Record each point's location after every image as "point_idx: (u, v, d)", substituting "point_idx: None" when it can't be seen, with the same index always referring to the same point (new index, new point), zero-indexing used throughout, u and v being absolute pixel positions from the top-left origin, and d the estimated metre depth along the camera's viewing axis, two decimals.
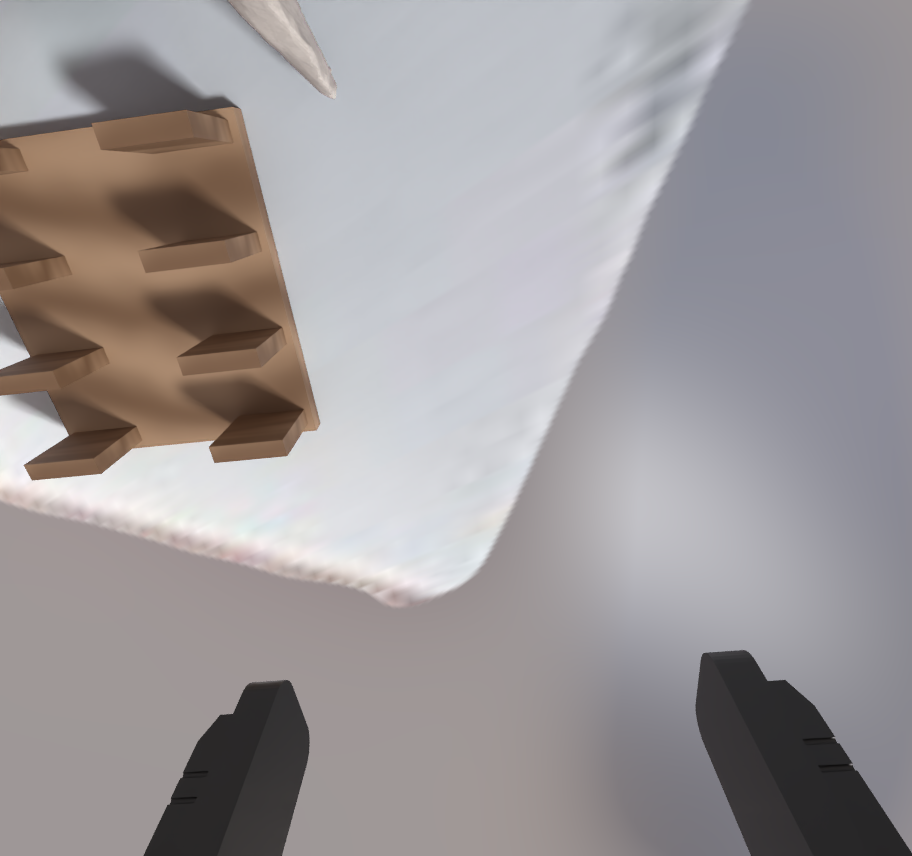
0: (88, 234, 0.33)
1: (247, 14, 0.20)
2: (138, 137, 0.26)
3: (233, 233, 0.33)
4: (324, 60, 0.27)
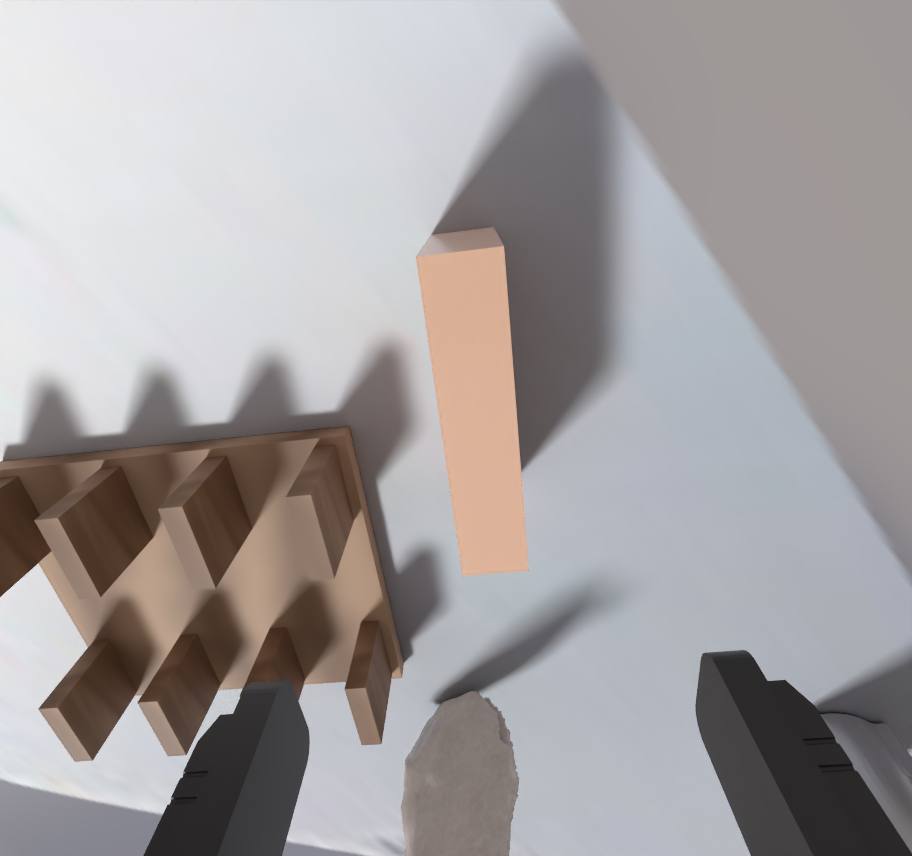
0: (279, 555, 0.32)
1: None
2: (357, 714, 0.30)
3: (300, 664, 0.36)
4: None
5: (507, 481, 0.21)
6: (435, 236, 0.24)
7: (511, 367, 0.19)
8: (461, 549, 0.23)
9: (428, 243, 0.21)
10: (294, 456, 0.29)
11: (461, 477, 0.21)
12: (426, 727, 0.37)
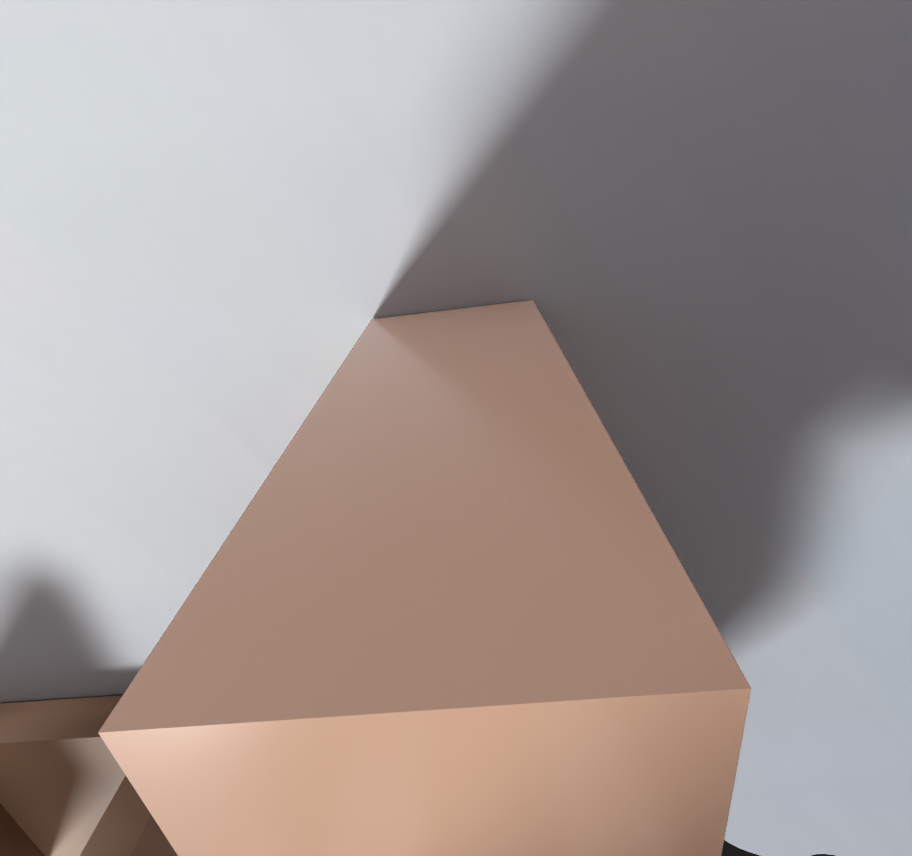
0: None
1: None
2: None
3: None
4: None
5: None
6: (375, 336, 0.08)
7: None
8: None
9: (327, 403, 0.06)
10: (103, 761, 0.14)
11: None
12: None
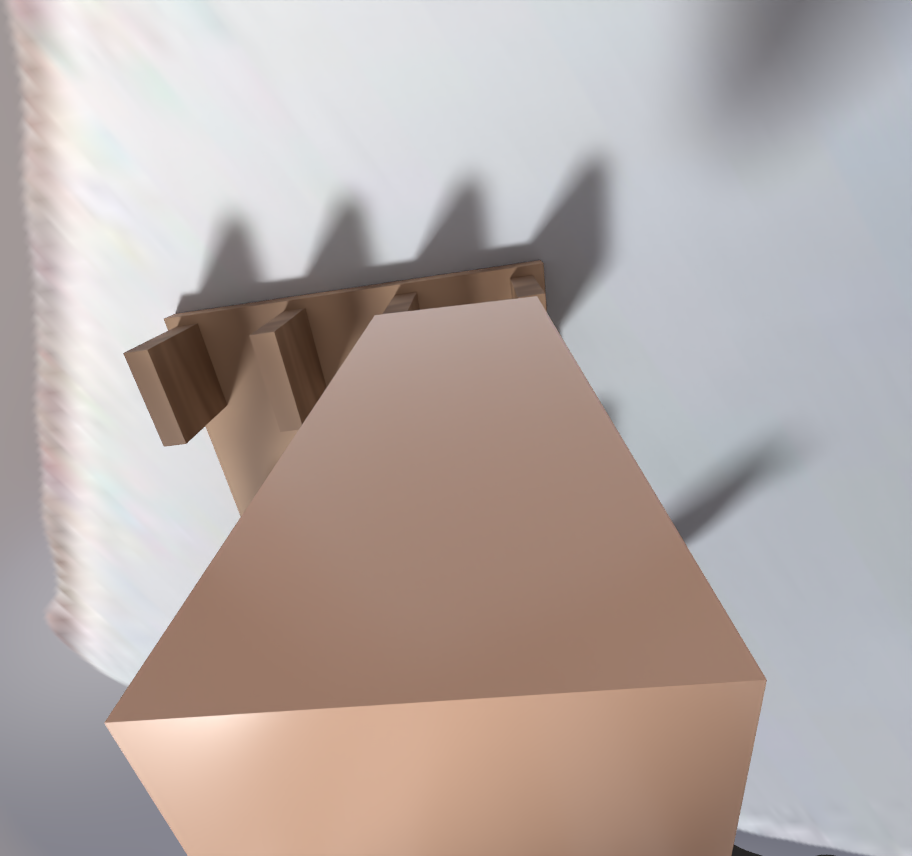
0: None
1: None
2: None
3: None
4: None
5: None
6: (379, 332, 0.08)
7: None
8: None
9: (331, 397, 0.06)
10: (487, 290, 0.28)
11: None
12: None
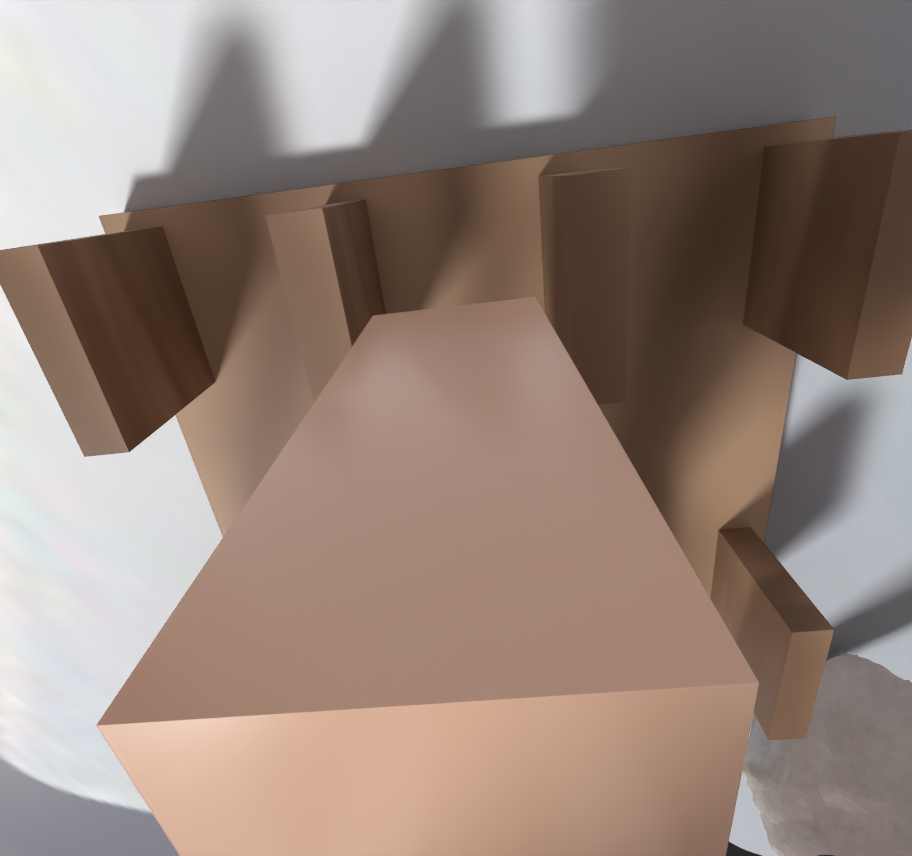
0: None
1: None
2: (791, 681, 0.16)
3: None
4: None
5: None
6: (377, 332, 0.08)
7: None
8: None
9: (328, 398, 0.06)
10: (716, 171, 0.15)
11: None
12: None
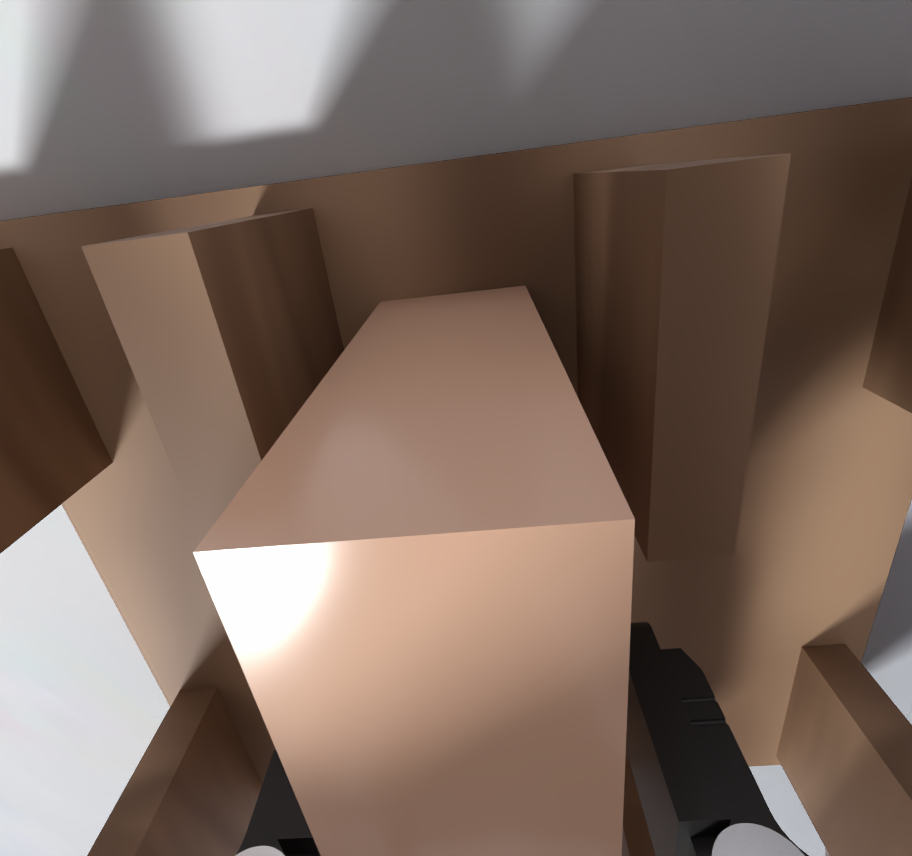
0: None
1: None
2: None
3: None
4: None
5: None
6: (384, 315, 0.10)
7: None
8: None
9: (343, 364, 0.07)
10: (845, 165, 0.10)
11: None
12: None
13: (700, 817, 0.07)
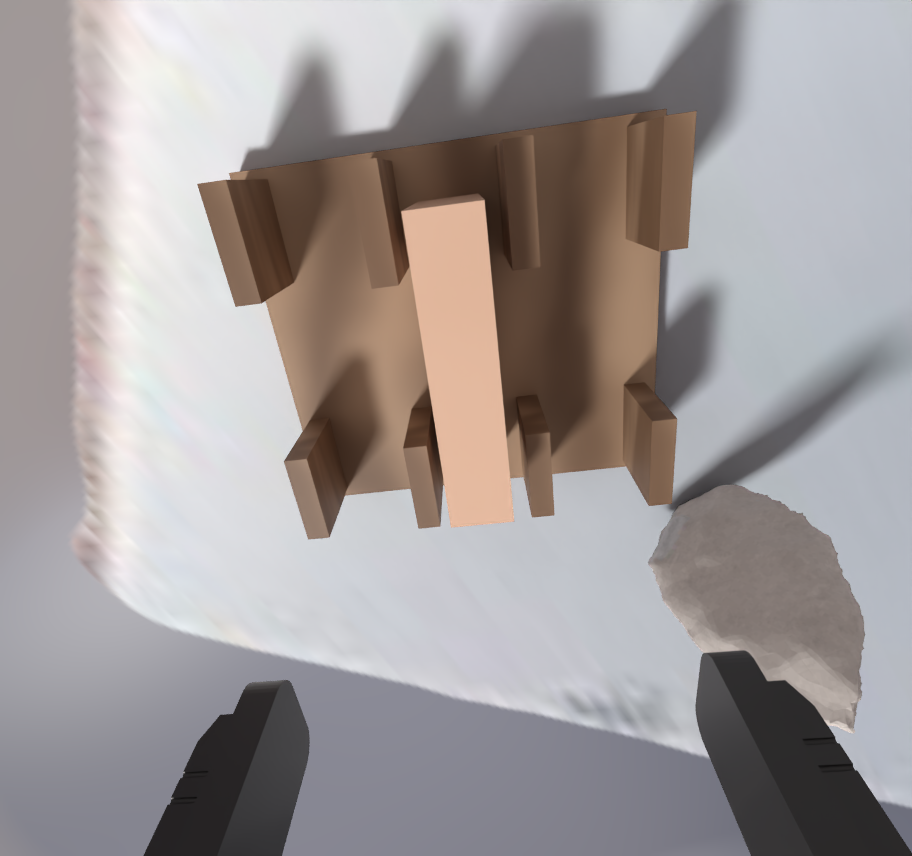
0: (550, 290, 0.28)
1: None
2: (656, 458, 0.26)
3: None
4: None
5: (492, 432, 0.22)
6: (422, 201, 0.25)
7: (493, 319, 0.20)
8: (449, 501, 0.24)
9: (414, 205, 0.22)
10: (600, 142, 0.25)
11: (447, 429, 0.22)
12: (671, 526, 0.33)
13: None
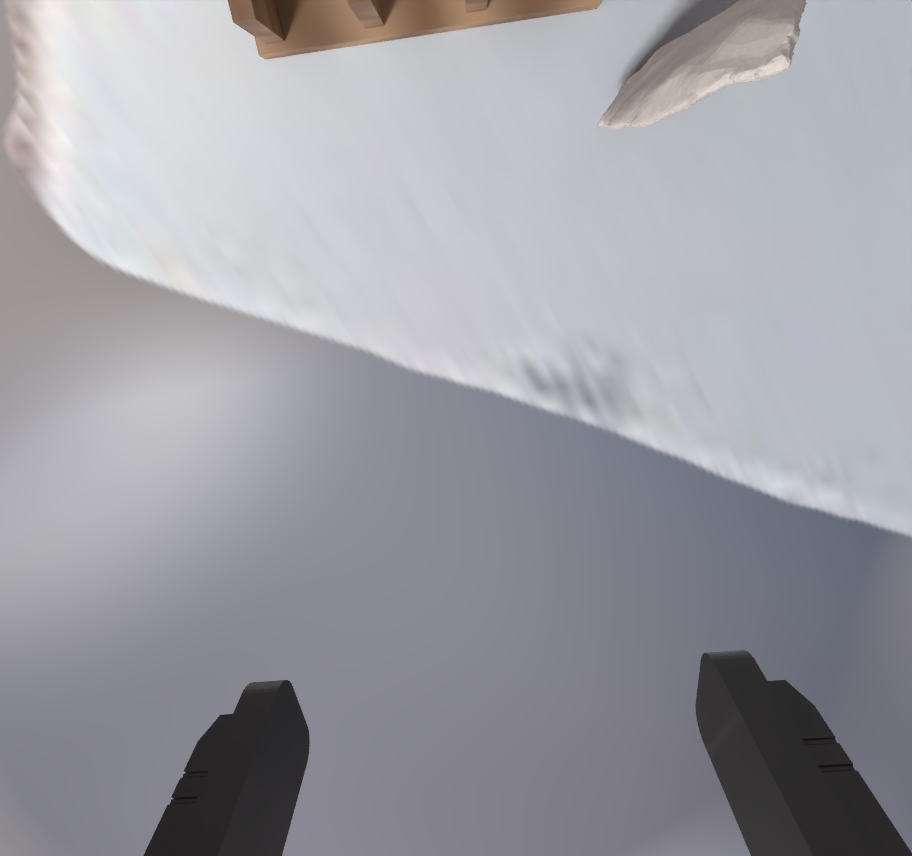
0: None
1: (682, 73, 0.24)
2: None
3: None
4: None
5: None
6: None
7: None
8: None
9: None
10: None
11: None
12: (622, 87, 0.32)
13: None
